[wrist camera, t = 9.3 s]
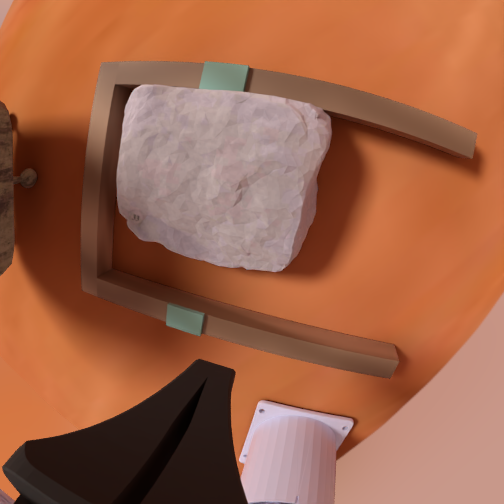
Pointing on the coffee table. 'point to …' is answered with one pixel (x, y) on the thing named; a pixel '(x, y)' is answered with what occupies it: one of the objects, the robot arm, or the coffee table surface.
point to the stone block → (221, 173)
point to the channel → (200, 308)
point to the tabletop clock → (9, 189)
